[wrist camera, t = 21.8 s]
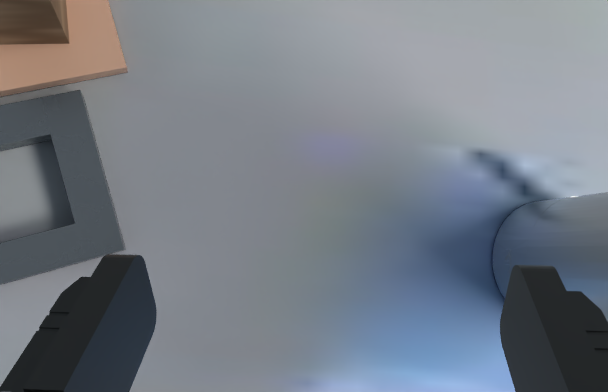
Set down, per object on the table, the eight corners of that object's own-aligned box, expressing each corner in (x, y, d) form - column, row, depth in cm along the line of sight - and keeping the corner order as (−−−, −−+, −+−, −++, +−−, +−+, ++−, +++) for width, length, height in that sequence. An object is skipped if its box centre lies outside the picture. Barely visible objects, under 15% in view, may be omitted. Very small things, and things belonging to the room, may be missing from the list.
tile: (86, -75, 35) (84, -84, 34) (127, 72, 35) (126, 67, 34) (-86, -54, 32) (-94, -64, 31) (-43, 105, 32) (-50, 100, 31)
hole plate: (83, 96, 34) (79, 89, 33) (125, 249, 34) (124, 249, 32) (-96, 132, 31) (-108, 126, 30) (-51, 299, 31) (-62, 301, 30)
